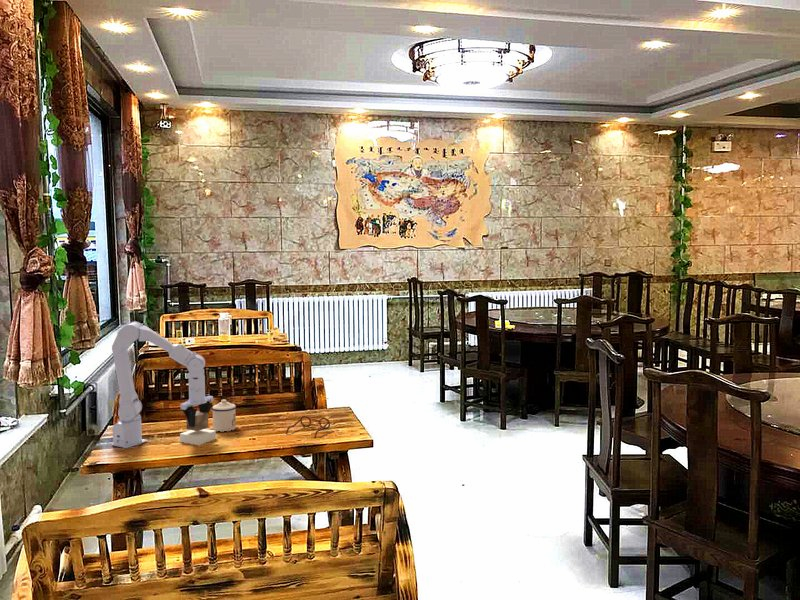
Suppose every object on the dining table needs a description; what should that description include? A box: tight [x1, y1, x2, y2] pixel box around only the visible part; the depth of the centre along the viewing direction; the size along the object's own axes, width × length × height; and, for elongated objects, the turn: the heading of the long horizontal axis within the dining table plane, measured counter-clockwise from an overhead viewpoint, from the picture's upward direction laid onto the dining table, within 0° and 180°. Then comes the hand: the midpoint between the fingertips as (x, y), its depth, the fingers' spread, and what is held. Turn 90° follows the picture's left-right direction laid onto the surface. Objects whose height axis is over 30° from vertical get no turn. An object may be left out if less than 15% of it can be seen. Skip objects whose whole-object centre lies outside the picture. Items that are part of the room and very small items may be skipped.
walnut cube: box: [185, 410, 209, 431], centre depth 244 cm, size 6×6×6 cm
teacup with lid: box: [211, 399, 237, 433], centre depth 260 cm, size 12×9×12 cm
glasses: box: [285, 415, 331, 439], centre depth 256 cm, size 13×13×5 cm
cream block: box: [179, 428, 217, 446], centre depth 244 cm, size 9×9×4 cm
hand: (197, 424), depth 244 cm, fingers closed on walnut cube, 5 cm apart
